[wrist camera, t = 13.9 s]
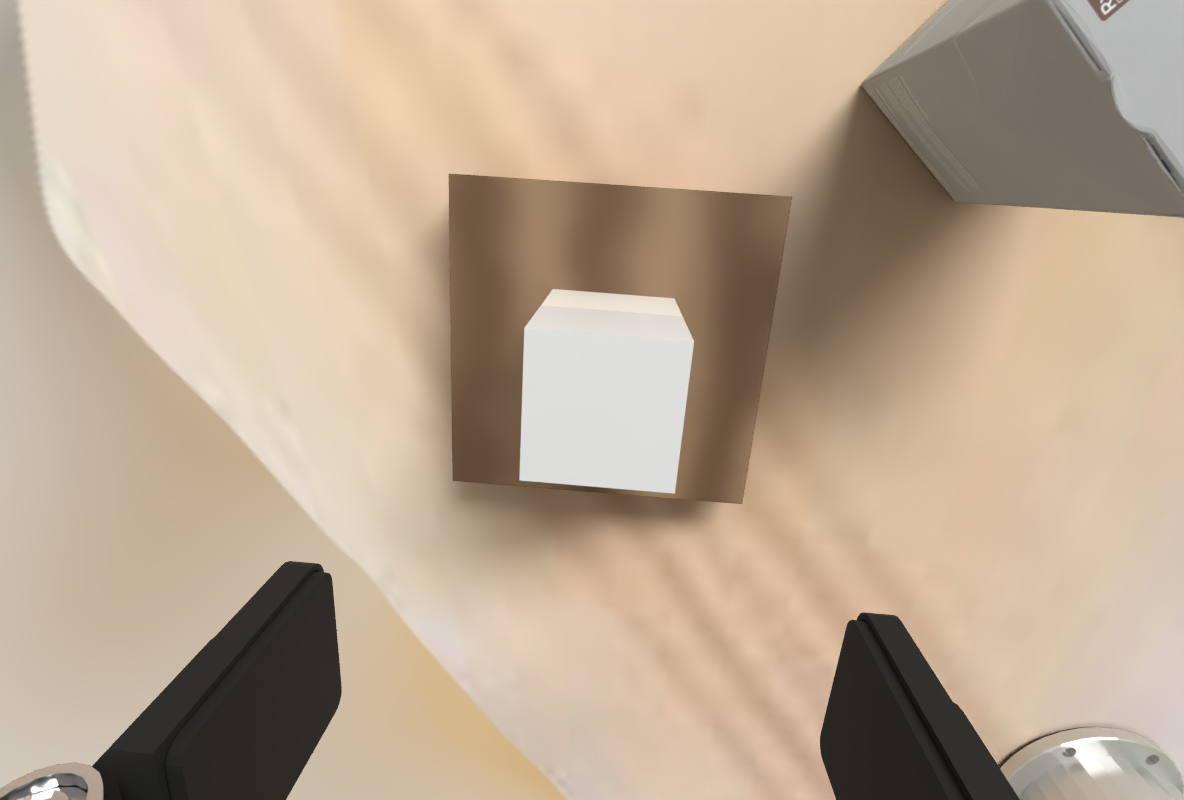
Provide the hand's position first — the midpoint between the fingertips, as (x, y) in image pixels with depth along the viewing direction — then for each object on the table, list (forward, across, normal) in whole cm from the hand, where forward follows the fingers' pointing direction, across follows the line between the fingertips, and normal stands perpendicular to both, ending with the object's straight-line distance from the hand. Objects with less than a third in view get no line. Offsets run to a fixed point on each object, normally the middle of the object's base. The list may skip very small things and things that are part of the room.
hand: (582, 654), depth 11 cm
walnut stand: (+25, 0, 0) cm, 25 cm away
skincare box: (+25, -16, -13) cm, 33 cm away
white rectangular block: (+21, 0, 0) cm, 21 cm away
